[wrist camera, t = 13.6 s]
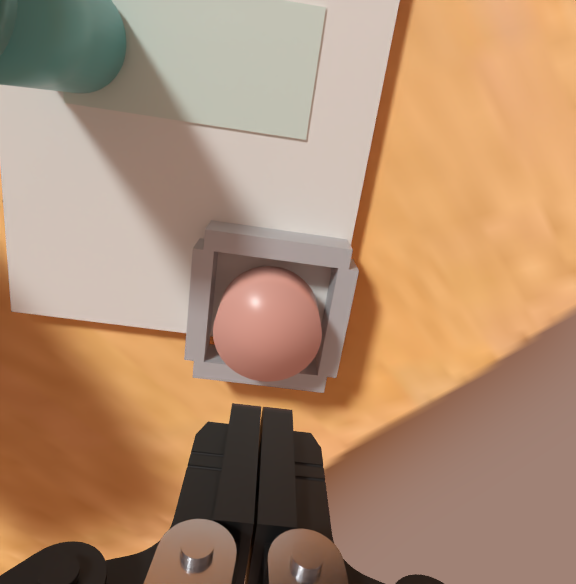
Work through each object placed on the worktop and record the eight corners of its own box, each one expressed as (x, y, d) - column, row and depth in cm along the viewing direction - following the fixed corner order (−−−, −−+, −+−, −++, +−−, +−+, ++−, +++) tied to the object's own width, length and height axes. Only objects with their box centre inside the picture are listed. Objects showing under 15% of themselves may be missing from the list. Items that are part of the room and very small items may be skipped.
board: (428, -139, 15) (454, -183, 13) (327, 365, 22) (333, 394, 20) (-14, -225, 14) (-69, -289, 12) (22, 328, 21) (-9, 353, 19)
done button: (325, 273, 18) (330, 291, 16) (309, 361, 20) (312, 387, 18) (224, 259, 18) (217, 276, 16) (215, 350, 19) (208, 375, 17)
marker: (133, -16, 16) (-17, -150, 8) (132, 104, 17) (2, 93, 9) (18, -35, 15) (-257, -193, 8) (26, 88, 17) (-201, 64, 9)
